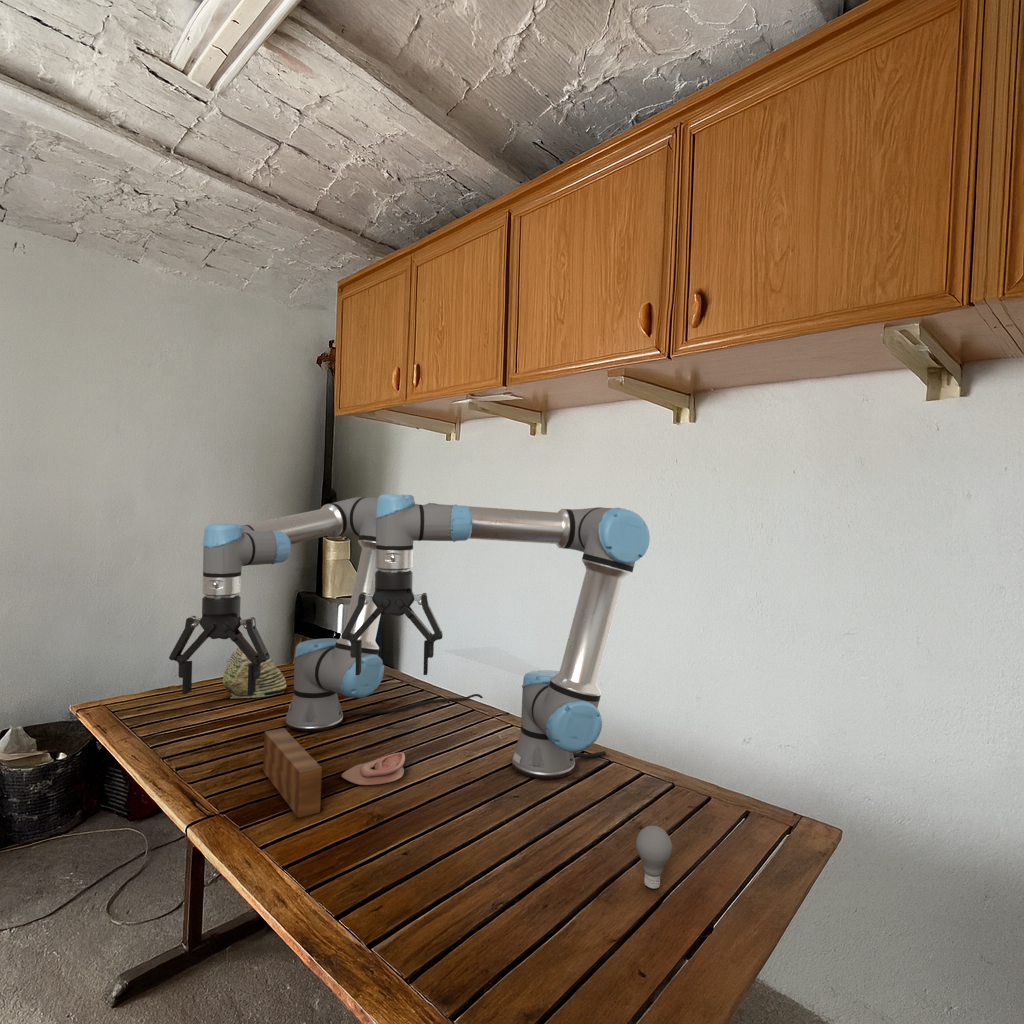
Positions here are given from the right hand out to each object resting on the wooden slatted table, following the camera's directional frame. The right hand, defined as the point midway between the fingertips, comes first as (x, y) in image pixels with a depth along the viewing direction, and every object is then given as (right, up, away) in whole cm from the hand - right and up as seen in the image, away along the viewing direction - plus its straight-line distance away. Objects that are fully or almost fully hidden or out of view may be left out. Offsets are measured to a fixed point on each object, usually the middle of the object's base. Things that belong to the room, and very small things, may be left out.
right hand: (392, 673), depth 130 cm
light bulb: (+48, -31, -22) cm, 61 cm away
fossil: (-56, -24, +68) cm, 92 cm away
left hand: (-39, -6, +7) cm, 40 cm away
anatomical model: (-7, -27, +15) cm, 32 cm away
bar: (-23, -27, +7) cm, 36 cm away
